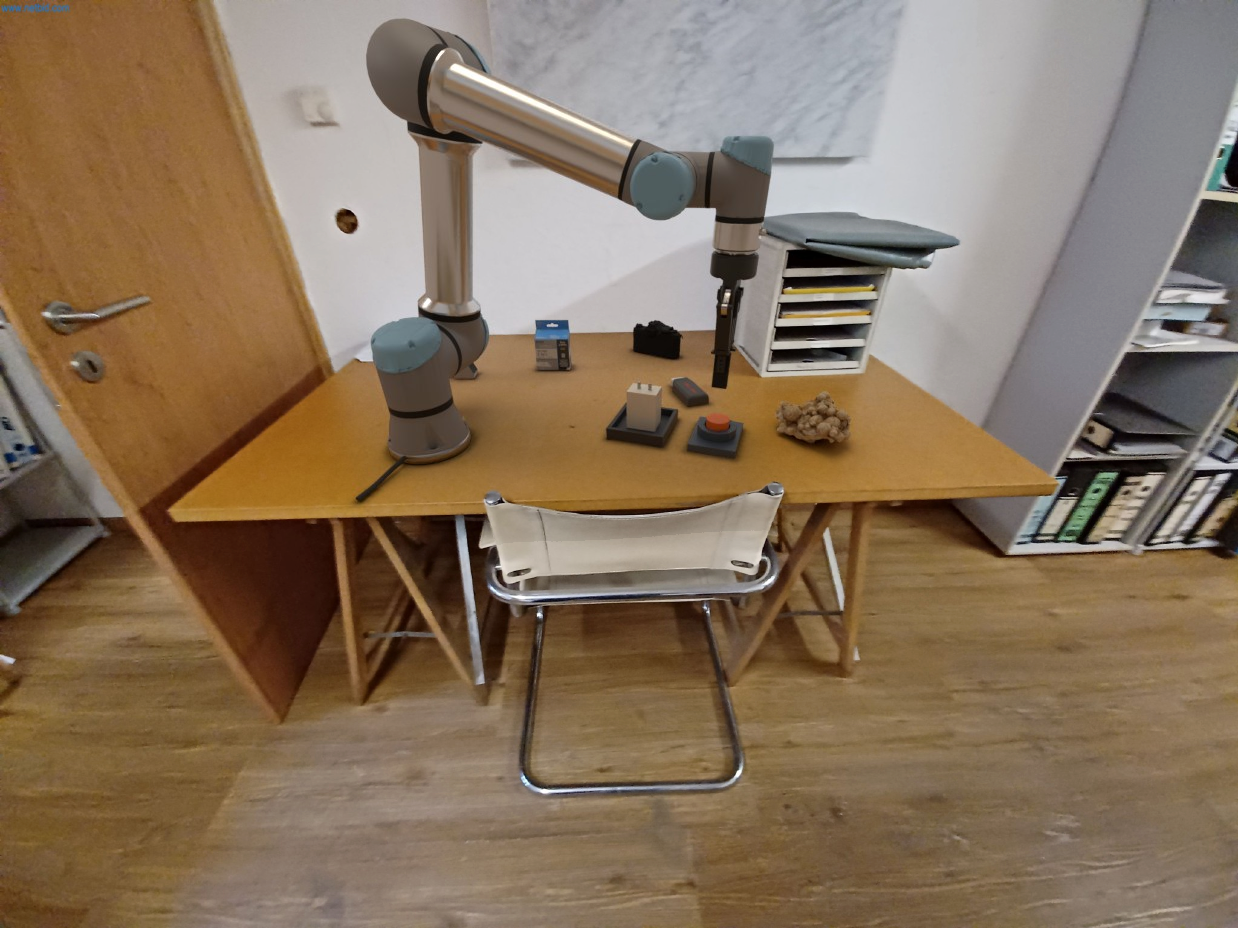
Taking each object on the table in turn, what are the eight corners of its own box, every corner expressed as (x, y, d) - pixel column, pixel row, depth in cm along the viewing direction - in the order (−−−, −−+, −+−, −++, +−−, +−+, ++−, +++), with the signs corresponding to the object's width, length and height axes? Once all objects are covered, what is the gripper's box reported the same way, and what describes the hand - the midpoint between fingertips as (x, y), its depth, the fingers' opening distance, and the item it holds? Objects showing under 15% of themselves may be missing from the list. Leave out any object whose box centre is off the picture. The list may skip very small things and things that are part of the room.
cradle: (662, 448, 96) (663, 437, 95) (606, 439, 100) (606, 428, 98) (677, 419, 106) (678, 409, 105) (626, 412, 110) (626, 401, 108)
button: (726, 433, 95) (727, 425, 94) (703, 429, 96) (704, 421, 95) (730, 423, 98) (731, 415, 97) (708, 419, 99) (708, 412, 98)
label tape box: (536, 370, 130) (531, 324, 124) (539, 365, 134) (534, 319, 127) (570, 371, 130) (567, 324, 123) (572, 365, 133) (569, 319, 127)
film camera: (691, 350, 142) (693, 319, 137) (675, 361, 135) (677, 328, 130) (644, 341, 149) (645, 311, 144) (627, 351, 142) (628, 319, 137)
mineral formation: (825, 417, 106) (869, 448, 93) (766, 433, 105) (802, 466, 92) (826, 382, 102) (872, 410, 89) (765, 398, 101) (802, 428, 88)
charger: (654, 432, 100) (656, 388, 95) (626, 427, 101) (626, 384, 96) (660, 422, 103) (662, 380, 98) (633, 418, 105) (633, 376, 100)
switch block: (734, 459, 93) (736, 443, 91) (686, 451, 95) (687, 435, 93) (742, 430, 102) (744, 414, 100) (699, 423, 105) (700, 408, 103)
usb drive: (687, 407, 111) (688, 396, 110) (666, 386, 121) (667, 376, 119) (708, 404, 112) (709, 393, 111) (686, 384, 122) (687, 373, 121)
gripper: (755, 259, 74) (734, 404, 86) (763, 245, 84) (744, 376, 97) (704, 256, 76) (692, 398, 88) (719, 243, 86) (705, 371, 99)
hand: (719, 386), depth 93 cm, fingers closed
